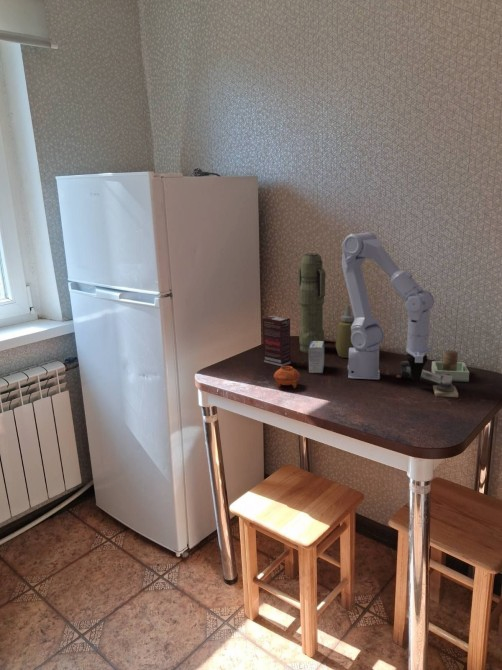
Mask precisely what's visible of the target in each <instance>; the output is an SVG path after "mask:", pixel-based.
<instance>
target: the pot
mask: <svg viewBox="0 0 502 670" xmlns="http://www.w3.org/2000/svg"><path fill="white" fill-rule="evenodd" d="M300 378H301V374H300V372H299V371H298V370H297V369H295V368H294V367H293V366H290V365H286V366H280V368H279V369H277V370H276V371H275V372H274V374H273V379H274V380H275V385H276V387H277V388H278V389H279V388H280V385H283V386H290V385H291V386H292V387H293V389H297V383H298V381H299V379H300Z"/></svg>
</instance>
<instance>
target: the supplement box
mask: <svg viewBox="0 0 502 670" xmlns="http://www.w3.org/2000/svg"><path fill="white" fill-rule="evenodd" d="M262 338H263V339H262V340H263V345H262V346H263V362H264V363H267V364H269V365H273V366H274V365H275V366H278V367H283V366H289V365H290V364H291V358H292V357H291V318H289V317H283V316H277V315H267V316H263V317H262Z"/></svg>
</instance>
